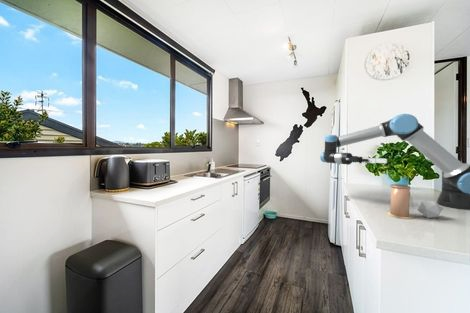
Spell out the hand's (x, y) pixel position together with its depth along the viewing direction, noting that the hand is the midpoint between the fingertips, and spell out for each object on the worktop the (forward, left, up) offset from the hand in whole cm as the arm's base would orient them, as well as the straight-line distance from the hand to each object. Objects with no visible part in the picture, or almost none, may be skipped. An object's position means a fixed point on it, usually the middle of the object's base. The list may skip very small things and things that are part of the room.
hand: (381, 161), depth 109 cm
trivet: (-8, +7, -28) cm, 29 cm away
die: (-20, +2, -28) cm, 34 cm away
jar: (-8, +7, -27) cm, 29 cm away
